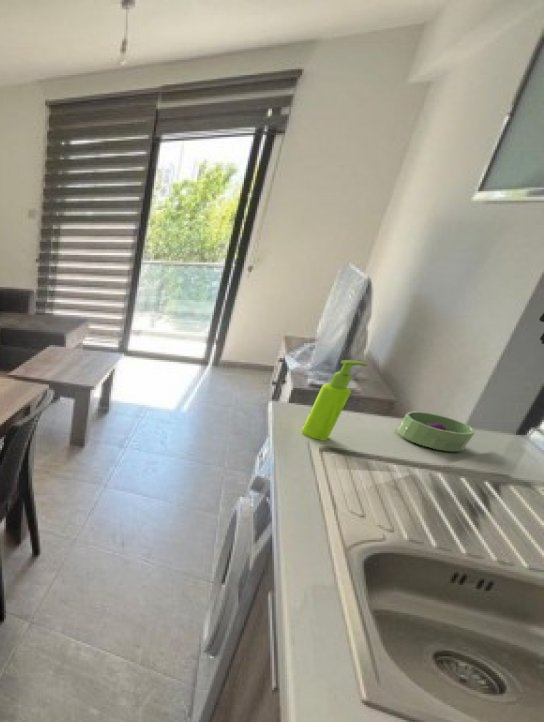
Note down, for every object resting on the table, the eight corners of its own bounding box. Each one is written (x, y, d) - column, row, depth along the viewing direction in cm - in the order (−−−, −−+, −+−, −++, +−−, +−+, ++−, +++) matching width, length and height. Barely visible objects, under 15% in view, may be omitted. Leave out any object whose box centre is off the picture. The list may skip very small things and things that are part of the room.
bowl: (472, 449, 122) (485, 430, 120) (445, 456, 118) (458, 437, 115) (412, 427, 133) (423, 409, 130) (385, 433, 128) (395, 414, 126)
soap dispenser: (337, 440, 123) (375, 366, 113) (310, 439, 122) (346, 364, 113) (321, 430, 128) (356, 358, 118) (296, 429, 128) (329, 356, 118)
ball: (443, 442, 124) (454, 427, 122) (434, 444, 122) (445, 429, 120) (423, 434, 128) (433, 419, 125) (414, 436, 126) (425, 421, 124)
